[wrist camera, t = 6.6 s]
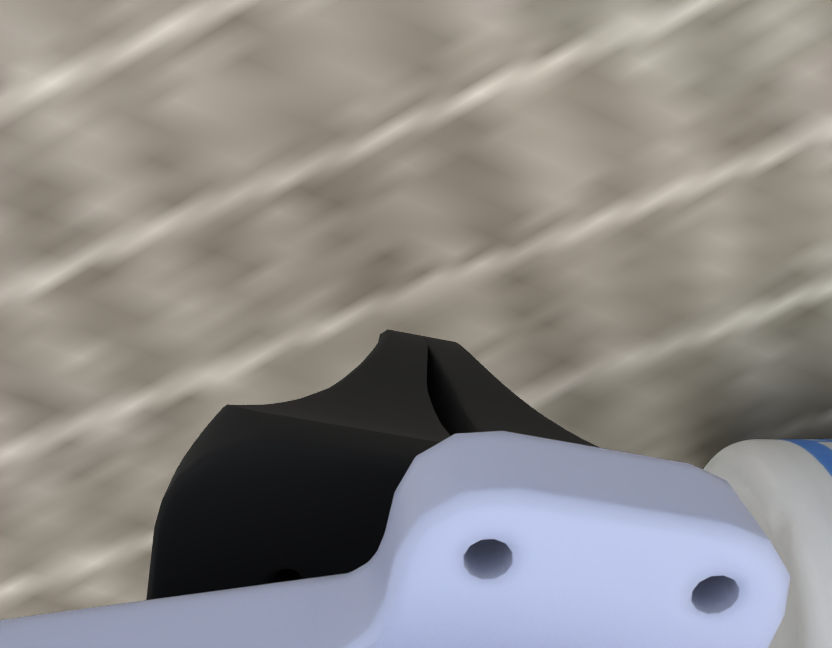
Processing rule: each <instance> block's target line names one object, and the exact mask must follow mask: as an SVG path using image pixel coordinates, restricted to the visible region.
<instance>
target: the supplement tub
mask: <svg viewBox="0 0 832 648" xmlns="http://www.w3.org/2000/svg"><path fill="white" fill-rule="evenodd" d="M703 470H705V471H707V472H709V473H711V474H714V475H716V476H718V477H720V478H722V479H725V480H727V481H728V483H729V484H730V485H731V487H732V488H733V490H734V491H735V492H736V494H737V495H738V497H739V498H740V499H741V501H742V502H743V504H744V505H745V506H746V508H747V509H748V510H749V512H750V513H751V515H752V516H753V517H754V519H755V520H756V522H757V523H758V524H759V526H760V527H761V529H762V530H763V531H764V533H765V534H766V536H767V537H768V538H769V540H770V541H771V543H772V544H773V546H774V548H775V550H776V551H777V553H778V555H779V557H780V558H781V560H782V562H783V564H784V565H785V567H786V569H787V571H788V572H789V574H790V576H791V577H790V583H789V589H788V595H787V601H786V608H785V614H784V617H783V619H782V621H781V623H780V625H779V627H778V629H777V631H776V633H775V635H774V637H773V639H772V641H771V643H770V645H769V647H768V648H832V439H775V440H773V439H752V440H745V441H740V442H737V443H734V444H731V445H729V446H727V447H725V448H724V449H722V450H721V451H719V452H718V453H717V454H716V455H715V456H714V457H713V458H712V459H711V460H710V461H709V462H708V464H707V465H706V466H705V468H704V469H703Z"/></svg>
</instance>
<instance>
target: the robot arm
mask: <svg viewBox="0 0 832 648" xmlns="http://www.w3.org/2000/svg"><path fill="white" fill-rule="evenodd" d="M790 577H791V576H790V574H789V572H788V571H787V569H786V567H785V565H784V564H783V562H782V560H781V558H780V557H779V555H778V553H777V551H776V550H775V548H774V546H773V544H772V543H771V541H770V540H769V538H768V537H767V536H766V534H765V533H764V531H763V530H762V529H761V527H760V526H759V524H758V523H757V522H756V520H755V519H754V517H753V516H752V515H751V513H750V512H749V510H748V509H747V508H746V506H745V505H744V504H743V502H742V501H741V499H740V498H739V497H738V495H737V494H736V492H735V491H734V490H733V488H732V487H731V485H730V484H729V483H728V481H727V480H725V479H722V478H720V477H718V476H716V475H714V474H711V473H709V472H707V471H705V470H703V469H701V468H698V467H696V466H694V465H692V464H690V463H684V462H678V461H672V460H667V459H661V458H655V457H649V456H644V455H638V454H632V453H627V452H621V451H615V450H609V449H604V448H599V447H597V446H595V445H593V444H591V443H589V442H587V441H585V440H583V439H581V438H579V437H578V436H576V435H574V434H572V433H570V432H568V431H567V430H565V429H564V428H562V427H560V426H559V425H557V424H556V423H554V422H552V421H551V420H549V419H548V418H546V417H544V416H543V415H542V414H540V413H539V412H537V411H536V410H534V409H533V408H532V407H530V406H529V405H528V404H527V403H525V402H524V401H523V400H521V399H520V398H519V397H518V396H516V395H515V394H514V393H513V392H511V391H510V390H509V389H508V388H507V387H506V386H504V385H503V384H502V383H501V382H500V381H499V380H498V379H497V378H495V377H494V376H493V375H492V374H491V373H490V372H489V371H488V370H487V369H486V368H485V367H484V366H483V365H482V364H480V363H479V362H478V361H477V360H476V359H475V358H474V357H473V356H472V355H471V354H470V353H469V352H468V351H467V350H465V349H464V348H463V347H462V346H461V345H459V344H458V343H456V342H452V341H447V340H441V339H436V338H430V337H425V336H420V335H414V334H409V333H404V332H398V331H393V330H386V331H385V332H383V333H382V334H380V337H379V342H378V343H377V345H376V346H375V348H374V349H373V351H372V352H371V353H370V354H369V355H368V356H367V357H366V359H365V360H364V361H363V362H362V363H361V364H360V365H359V366H358V367H356V368H355V369H354V370H353V371H352V372H351V373H349V374H348V375H347V376H346V377H345V378H343V379H342V380H341V381H339V382H338V383H336V384H335V385H333V386H332V387H330V388H328V389H326V390H323V391H320V392H318V393H315V394H312V395H309V396H307V397H304V398H301V399H297V400H292V401H288V402H282V403H275V404H266V405H226V406H225V407H223V408H222V409H221V411H220V412H219V413H218V414H217V415H216V416H215V417H214V418H213V420H212V421H211V422H210V423H209V424H208V426H207V427H206V428H205V429H204V430H203V432H202V433H201V434H200V436H199V437H198V438H197V440H196V441H195V442H194V444H193V445H192V446H191V448H190V449H189V451H188V452H187V454H186V455H185V456H184V458H183V460H182V461H181V463H180V465H179V466H178V468H177V470H176V472H175V474H174V476H173V478H172V480H171V482H170V484H169V487H168V489H167V491H166V493H165V495H164V497H163V500H162V502H161V506H160V509H159V513H158V516H157V520H156V524H155V527H154V536H153V546H152V555H151V564H150V573H149V582H148V591H147V600H144V601H137V602H129V603H122V604H114V605H107V606H100V607H92V608H85V609H77V610H70V611H62V612H55V613H48V614H40V615H33V616H25V617H18V618H10V619H3V620H0V648H768V647H769V645H770V643H771V641H772V639H773V637H774V635H775V633H776V631H777V629H778V627H779V625H780V623H781V621H782V619H783V617H784V614H785V608H786V601H787V595H788V589H789V583H790Z"/></svg>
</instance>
